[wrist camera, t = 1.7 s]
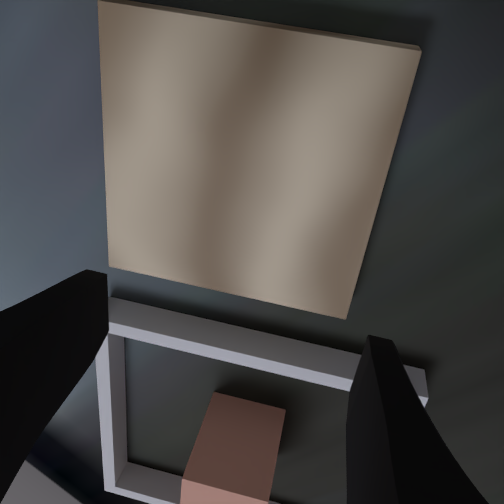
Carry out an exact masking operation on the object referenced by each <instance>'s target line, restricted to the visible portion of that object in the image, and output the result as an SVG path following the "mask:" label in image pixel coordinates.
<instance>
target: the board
mask: <svg viewBox="0 0 504 504" xmlns="http://www.w3.org/2000/svg"><path fill="white" fill-rule="evenodd" d="M98 20H99V44H100V67H101V90H102V113H103V136H104V160H105V183H106V206H107V229H108V252H109V266H110V267H114V268H119V269H123V270H128V271H132V272H137V273H141V274H146V275H150V276H154V277H159V278H163V279H168V280H172V281H177V282H181V283H186V284H190V285H194V286H199V287H203V288H208V289H212V290H217V291H221V292H226V293H230V294H235V295H239V296H243V297H248V298H252V299H257V300H261V301H266V302H270V303H275V304H279V305H283V306H288V307H292V308H297V309H301V310H306V311H310V312H315V313H319V314H323V315H328V316H332V317H337V318H341V319H346V317H347V313H348V310H349V306H350V303H351V299H352V296H353V292H354V289H355V285H356V282H357V278H358V275H359V271H360V268H361V264H362V261H363V257H364V254H365V250H366V247H367V243H368V240H369V236H370V233H371V229H372V225H373V222H374V218H375V215H376V211H377V208H378V204H379V201H380V197H381V194H382V190H383V187H384V183H385V180H386V176H387V173H388V169H389V166H390V162H391V159H392V155H393V152H394V148H395V145H396V141H397V138H398V134H399V130H400V127H401V123H402V120H403V116H404V113H405V109H406V106H407V102H408V99H409V95H410V92H411V88H412V85H413V81H414V78H415V74H416V71H417V67H418V64H419V60H420V57H421V53H422V51H421V49H420V48H419V46H417V45H411V44H404V43H398V42H392V41H385V40H379V39H372V38H366V37H359V36H353V35H347V34H340V33H334V32H327V31H321V30H315V29H308V28H302V27H295V26H289V25H283V24H276V23H270V22H263V21H257V20H251V19H244V18H238V17H231V16H225V15H219V14H212V13H206V12H199V11H193V10H186V9H180V8H174V7H167V6H161V5H154V4H148V3H142V2H135V1H129V0H98Z"/></svg>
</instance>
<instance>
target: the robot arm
mask: <svg viewBox="0 0 504 504" xmlns="http://www.w3.org/2000/svg"><path fill="white" fill-rule="evenodd" d="M108 332H109V312H108V287H107V274H105V273H100V272H96V271H92V270H87V269H86V270H84V271H82V272H79V273H77V274H75V275H73V276H71V277H69V278H67V279H65V280H63V281H61V282H60V283H58V284H56V285H54V286H52V287H50V288H48V289H46V290H44V291H42V292H40V293H38V294H36V295H34V296H32V297H30V298H28V299H26V300H24V301H22V302H20V303H18V304H16V305H14V306H11V307H9V308H7V309H5V310H3V311H0V503H1V501H2V500H3V498H4V496H5V494H6V492H7V491H8V489H9V487H10V485H11V483H12V482H13V480H14V478H15V476H16V474H17V473H18V471H19V469H20V467H21V466H22V464H23V462H24V461H25V459H26V457H27V455H28V454H29V452H30V450H31V449H32V447H33V445H34V444H35V442H36V440H37V439H38V437H39V436H40V434H41V433H42V431H43V430H44V428H45V427H46V425H47V424H48V423H49V421H50V420H51V419H52V417H53V416H54V414H55V413H56V412H57V410H58V409H59V408H60V406H61V405H62V403H63V402H64V401H65V399H66V398H67V397H68V395H69V394H70V393H71V391H72V390H73V388H74V387H75V386H76V384H77V383H78V382H79V380H80V379H81V377H82V376H83V375H84V373H85V372H86V370H87V369H88V368H89V366H90V365H91V363H92V362H93V360H94V358H95V357H96V355H97V353H98V351H99V349H100V348H101V346H102V344H103V342H104V340H105V338H106V336H107V334H108ZM346 464H347V504H489V503H488V502H487V501H486V500H485V499H484V497H483V496H482V495H481V494H480V492H479V491H478V490H477V489H476V487H475V486H474V485H473V483H472V482H471V481H470V479H469V478H468V477H467V475H466V474H465V472H464V471H463V470H462V468H461V467H460V465H459V464H458V462H457V461H456V460H455V458H454V457H453V455H452V454H451V452H450V450H449V449H448V447H447V446H446V444H445V443H444V441H443V439H442V438H441V436H440V434H439V433H438V431H437V429H436V428H435V426H434V424H433V423H432V421H431V419H430V417H429V415H428V414H427V412H426V410H425V408H424V406H423V404H422V402H421V400H420V398H419V397H418V395H417V393H416V391H415V389H414V387H413V385H412V383H411V381H410V378H409V376H408V374H407V372H406V370H405V368H404V365H403V363H402V361H401V358H400V356H399V354H398V351H397V349H396V346H395V344H394V343H393V341H392V340H389V339H384V338H380V337H376V336H372V335H368V337H367V340H366V343H365V346H364V349H363V352H362V355H361V358H360V361H359V364H358V367H357V370H356V373H355V376H354V379H353V382H352V385H351V388H350V393H349V402H348V412H347V422H346Z"/></svg>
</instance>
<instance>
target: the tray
mask: <svg viewBox="0 0 504 504" xmlns="http://www.w3.org/2000/svg"><path fill="white" fill-rule="evenodd" d="M108 312H109V332H108V334H107V336H106V338H105V340H104V342H103V344H102V346H101V348H100V349H99V351H98V353H97V355H96V371H97V385H98V400H99V414H100V429H101V443H102V458H103V472H104V487H105V491H108V492H112V493H115V494H119V495H122V496H126V497H129V498H133V499H137V500H140V501H144V502H147V503H151V504H180V499H181V485H182V477H181V476H177V475H174V474H170V473H166V472H163V471H159V470H155V469H152V468H148V467H145V466H141V465H137V464H134V463H130V462H127V426H126V387H125V348H124V337H127V338H131V339H135V340H139V341H144V342H148V343H152V344H156V345H160V346H164V347H168V348H172V349H177V350H181V351H185V352H189V353H193V354H197V355H201V356H206V357H210V358H214V359H218V360H222V361H226V362H230V363H235V364H239V365H243V366H247V367H251V368H255V369H259V370H263V371H268V372H272V373H276V374H280V375H284V376H288V377H292V378H297V379H301V380H305V381H309V382H313V383H317V384H321V385H325V386H330V387H334V388H338V389H342V390H346V391H350V388H351V385H352V382H353V379H354V376H355V373H356V370H357V367H358V364H359V361H360V358H361V355H359V354H355V353H351V352H347V351H342V350H338V349H334V348H329V347H325V346H321V345H316V344H312V343H308V342H303V341H299V340H295V339H291V338H286V337H282V336H278V335H273V334H269V333H265V332H260V331H256V330H252V329H248V328H243V327H239V326H235V325H230V324H226V323H222V322H217V321H213V320H209V319H205V318H200V317H196V316H192V315H187V314H183V313H179V312H174V311H170V310H166V309H162V308H157V307H153V306H149V305H144V304H140V303H136V302H131V301H127V300H123V299H119V298H114V297H109V298H108ZM404 368H405V370H406V372H407V374H408V376H409V378H410V381H411V383H412V385H413V387H414V389H415V391H416V393H417V395H418V397H419V398H420V400H421V402H422V404H423V406H424V407H425V405H426V403H427V400H428V391H427V384H426V377H425V370H424V369H420V368H415V367H411V366H407V365H404ZM268 504H280V503H276V502H272V501H269V502H268Z"/></svg>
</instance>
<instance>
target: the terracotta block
mask: <svg viewBox="0 0 504 504" xmlns="http://www.w3.org/2000/svg"><path fill="white" fill-rule="evenodd" d="M285 412H286V410H285V409H281V408H277V407H273V406H269V405H265V404H261V403H257V402H253V401H249V400H245V399H241V398H237V397H233V396H229V395H225V394H221V393H217V392H214V393H213V395H212V398H211V401H210V404H209V406H208V409H207V412H206V414H205V417H204V420H203V423H202V425H201V428H200V431H199V434H198V436H197V439H196V442H195V444H194V447H193V450H192V453H191V455H190V458H189V461H188V463H187V466H186V469H185V472H184V474H183V477H182V485H181V499H180V504H268V502H269V497H270V492H271V486H272V481H273V476H274V470H275V465H276V460H277V454H278V449H279V444H280V439H281V433H282V428H283V423H284V417H285Z"/></svg>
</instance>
